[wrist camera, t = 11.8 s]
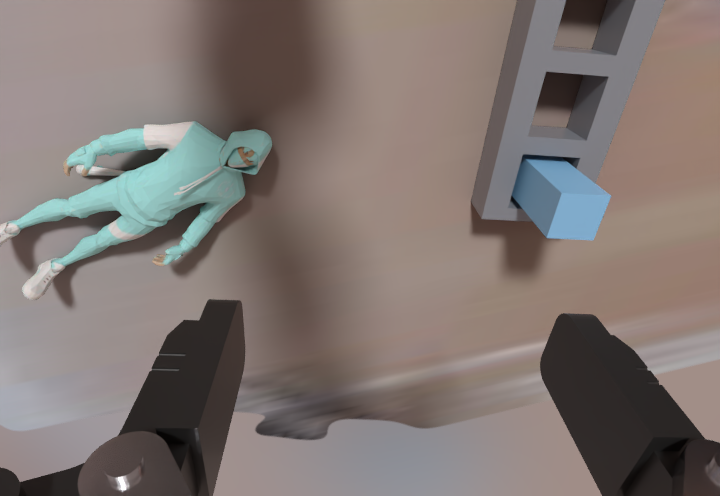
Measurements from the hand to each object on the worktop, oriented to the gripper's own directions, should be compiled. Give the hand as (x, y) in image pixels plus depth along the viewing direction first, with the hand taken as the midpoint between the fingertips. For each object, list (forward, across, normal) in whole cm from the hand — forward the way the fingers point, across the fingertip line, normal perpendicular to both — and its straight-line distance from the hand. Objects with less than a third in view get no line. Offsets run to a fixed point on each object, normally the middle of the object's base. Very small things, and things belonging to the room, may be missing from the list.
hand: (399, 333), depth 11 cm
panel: (+33, -18, 0) cm, 38 cm away
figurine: (+34, +20, +12) cm, 41 cm away
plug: (+33, -18, +7) cm, 38 cm away
